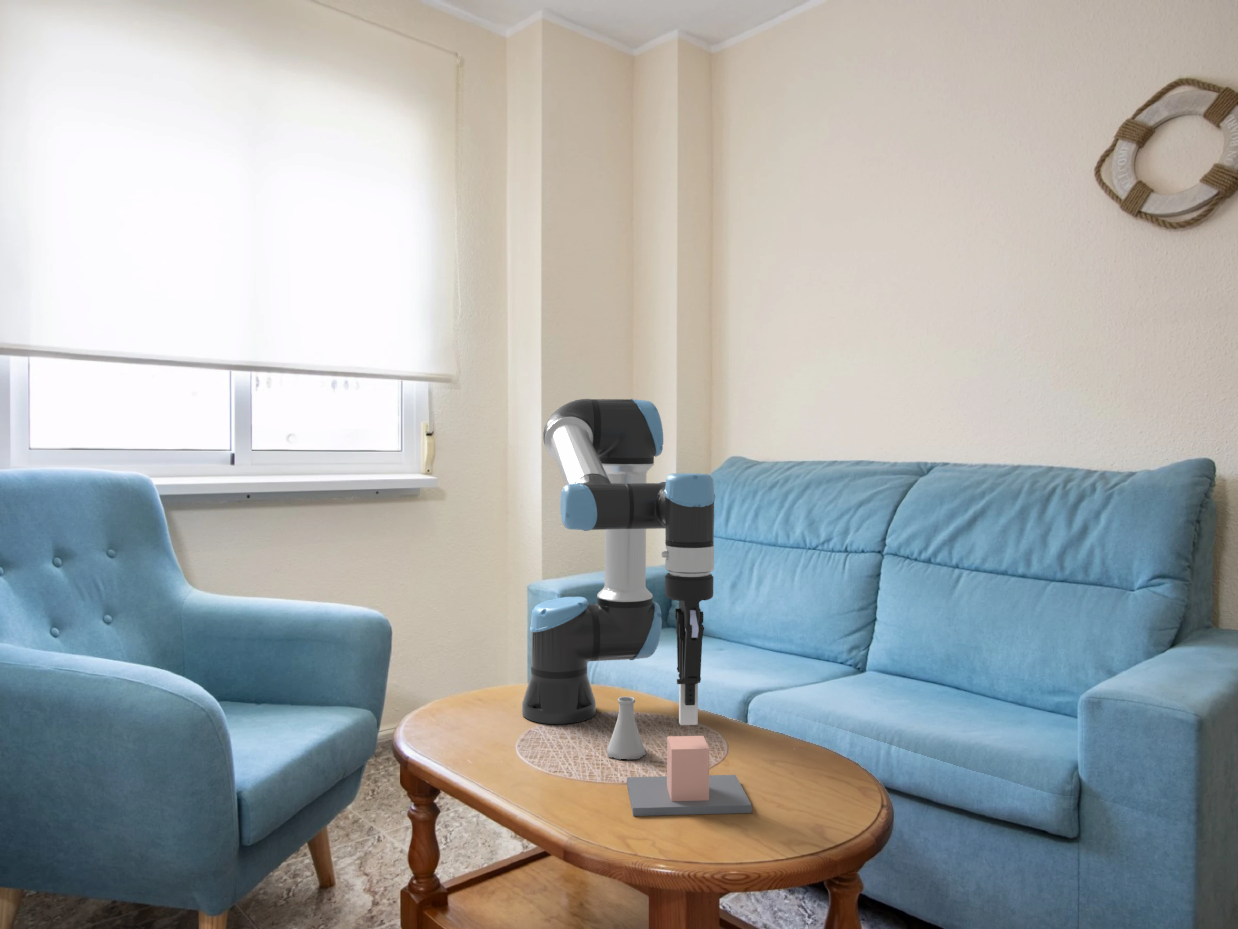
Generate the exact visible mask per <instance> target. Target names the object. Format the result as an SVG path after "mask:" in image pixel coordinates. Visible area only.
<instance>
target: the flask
mask: <svg viewBox="0 0 1238 929" xmlns="http://www.w3.org/2000/svg"><path fill="white" fill-rule="evenodd" d="M617 702H618V715H617V720H616V723H615V725H614V728H613V732H612V735H611V737H610V741H609V742H608V745H607V747H606V754H607V757H608V756H609V758H612V757H614V759H617V760H621V759H627V760H639V759H641V758H642V757H644V756H645V755H646V754H647V753H646V750H645V746H644V743H643V740H642V738H641V735H640V732H639V729H638V725H637V721H636V717H635V711H634V710H635V709H634V704H635V703H636V699H635V697H633V696H619V697H618V698H617ZM643 755H644V756H643ZM640 757H641V758H640Z"/></svg>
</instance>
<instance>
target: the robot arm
mask: <svg viewBox="0 0 1238 929" xmlns="http://www.w3.org/2000/svg"><path fill="white" fill-rule="evenodd" d="M661 419H662V418H661V416H660V412H659V410H658V408H657V406H656V405H655V404H654V403H653V402H652V401H649V400H644V399H634V398H630V399H628V398H627V399H625V398H623V399H621V398H620V399H618V398H617V399H615V398H614V399H612V398H609V399H607V398H602V399H601V398H598V399H591V398H580V399H575V400H573V401H569V402H567V403H565V404H564V405H562V406H560V407H559V408H557V409H556V410H555V411H554V412H552V414H551V415H550V416H549V418H548V419H547V421H546V422H545V425H544V428H543V432H542V433H543V436H542V438H543V444H544V447H545V449H546V452H547V453H548V455H549V456H550V457H551V458H552V459H553V460H555V462H556V464H557V467H558V470H559V472H560V474H561V475H560V476H561V478H562V480H563V482H564V486H563V487H562V489H561V493H560V503H559V504H560V516H561V522H562V523H561V524H562V525H563V527H565V529H567V530H576V531H577V530H578V531H579V530H580V531H584V532H587V531H589V532H590V531H596V530H597V531H599V530H601V531H602V530H603V531H604V586H603V588H602V589H600V591H599V592H598V593H597V594H596V595H597V596H596V597H597V598H596V603H592V604H590V603H589V601H588V599H587V598H586V597H583V596H564V597H563V596H562V597H558V598H554V599H548V600H545V601H542V602H539V603H538V604H536V605H535V606H534V608H532V611H531V615H530V616H531V617H530V618H531V620H530V627H529V630H530V638H531V639H530V678H529V682H528V684H527V687H526V690H525V693H524V696H523V700H522V704H521V706H522V707H521V712H522V713H521V714H522V716H523V717H524V718H525V719H526V720H529V721H531V722H535V723H540V724H546V725H547V724H549V725H564V724H565V725H566V724H567V725H568V724H575V723H579V722H584V721H586V720H589V719H591V718H593V717H594V716H595V715H596V711H597V709H596V708H597V706H596V705H597V702H596V699H595V698H596V697H595V695H594V693H593V689H592V686H591V683H590V679H589V676H588V663H589V662H600V661H601V662H602V661H604V662H606V661H623V660H624V661H625V660H626V661H627V660H629V661H634V660H637V659H638V660H640V659H648V658H650V657H652V656H653V655H654V654H655V652H656V651H657V649H658V647H659V643H660V641H661V640H660V639H661V635H662V634H661V633H662V625H663V624H662V621H663V620H662V610H661V607H660V605H659V603H658V602H656V601H654V600H653V599H654V598H653V593H652V592H651V591H649V589H648V588H647V587H646V585H647V584H646V578H647V576H646V569H647V568H646V566H647V564H646V563H647V562H646V560H647V559H646V558H647V530H651V529H653V530H654V529H655V530H657V529H659V530H661V529H665V538H664V539H665V540H664V541H665V542H664V543H665V549H666V550H664V551H661V557H662V558H664V559H665V560H664V561H665V562H664V563H665V566H664V568H665V570H666V571H667V572H668V573H667V572H666V574H665V576H664V595H665V597H666V598H667V599H669V600H672V601H677V602H678V608H675V609H674V618H675V622H676V623H675V624H676V626H675V632H676V648H677V649H676V650H677V651H676V654H677V656H676V657H677V658H676V659H677V662H676V663H677V667H676V670H677V673H678V678H677V679H676V684H677V685H679V686H678V687H679V688H678V690H679V693H678V698H679V699H678V723H679V725H680V726H697V725H698V724H699V720H698V719H699V718H698V717H699V715H698V714H699V713H698V712H699V710H698V709H699V684H700V683H701V681H702V677H701V674H702V673H701V672H702V671H701V670H702V654H703V653H702V652H703V651H702V648H703V636H704V631H705V626H704V625H703V623H704V611H702V610H701V608H700V602H702V601H709V600H711V599H713V597H714V575H713V574H712V572H713V571H714V570H715V564H714V563H715V545H714V542H715V540H714V538H715V537H714V534H715V533H714V532H715V531H714V530H715V526H714V524H715V501H716V495H715V483H714V479H713V478H714V477H713V476H712V475H710V474H708V473H699V472H698V473H697V472H696V473H695V472H689V473H687V472H682V473H681V472H680V473H679V472H678V473H670V474H668V475H667V477H666V478H665V481H660V482H656V483H655V482H654V483H653V482H651V483H650V482H649V483H648V482H647V473H648V471H649V470H651V469H652V467H653V466H654V465H655V457H658V456H660V455H661V454H662V453H663V449H664V447H663V445H664V430H663V429H664V428H663V424H662V420H661Z"/></svg>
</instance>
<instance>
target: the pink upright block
mask: <svg viewBox="0 0 1238 929" xmlns="http://www.w3.org/2000/svg"><path fill="white" fill-rule="evenodd" d="M666 744H667V745H666V776H667V788H668V791H669V795H670V798H671V801H702V800H709V775H710V747H709V745H708V743H707V741H706V738H705V737H704V735H683V736H682V735H681V736H680V735H676V736H675V735H674V736H672V735H671V736H667V737H666Z"/></svg>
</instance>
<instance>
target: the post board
mask: <svg viewBox="0 0 1238 929" xmlns="http://www.w3.org/2000/svg"><path fill="white" fill-rule="evenodd" d="M626 786H627V791H628V792H627V793H628V797H629V798H628V799H629V802H630V807H631V812H632V816H633V817H640V816H641V817H642V816H643V817H644V816H646V817H647V816H650V817H651V816H683V815H684V816H685V815H718V814H719V815H721V814H722V815H723V814H724V815H725V814H751V813H752V810H753V809H752V803H751V801H750V799H749V797H748V795H747V794H746V792H745V790H744V788H743V786H742V784H741V782H740V781H739V779H738V777H737V775H736V774H711V775H710V774H709V800H702V801H671V798H670V795H669V791H668V788H667V775H666V776H665V775H664V776H663V775H662V776H661V775H660V776H659V775H658V776H657V775H656V776H627V777H626Z"/></svg>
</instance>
